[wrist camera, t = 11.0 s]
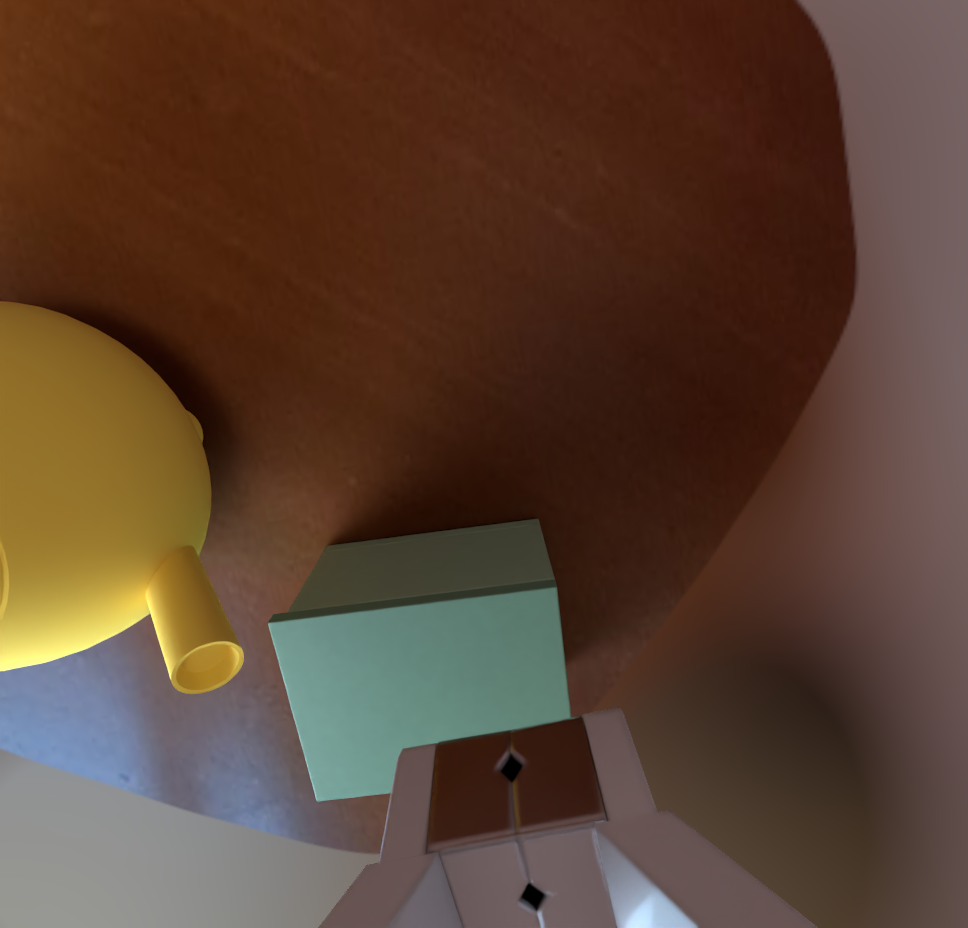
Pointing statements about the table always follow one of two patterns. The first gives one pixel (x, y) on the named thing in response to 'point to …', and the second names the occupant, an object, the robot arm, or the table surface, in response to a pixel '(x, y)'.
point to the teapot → (101, 504)
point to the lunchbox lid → (417, 676)
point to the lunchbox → (426, 565)
